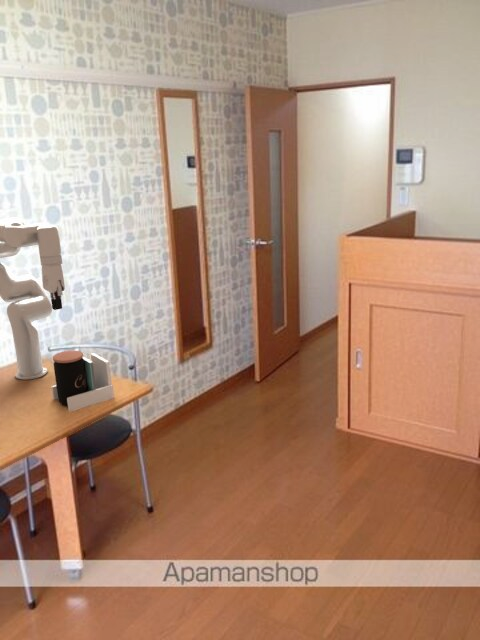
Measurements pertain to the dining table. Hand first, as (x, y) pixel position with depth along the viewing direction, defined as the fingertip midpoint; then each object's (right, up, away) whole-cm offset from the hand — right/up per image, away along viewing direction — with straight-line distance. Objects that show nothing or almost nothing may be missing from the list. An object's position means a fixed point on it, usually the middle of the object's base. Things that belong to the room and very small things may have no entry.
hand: (57, 308), depth 222 cm
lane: (+10, -33, 0) cm, 35 cm away
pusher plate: (+11, -33, +1) cm, 35 cm away
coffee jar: (+7, -34, -2) cm, 35 cm away
